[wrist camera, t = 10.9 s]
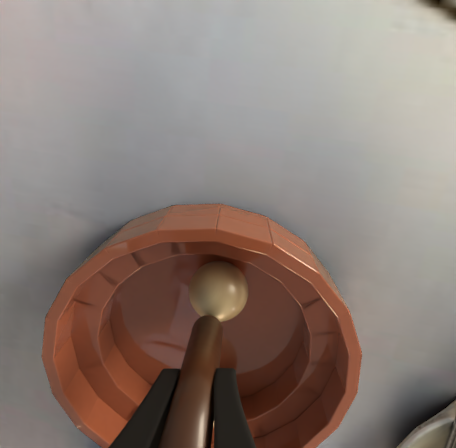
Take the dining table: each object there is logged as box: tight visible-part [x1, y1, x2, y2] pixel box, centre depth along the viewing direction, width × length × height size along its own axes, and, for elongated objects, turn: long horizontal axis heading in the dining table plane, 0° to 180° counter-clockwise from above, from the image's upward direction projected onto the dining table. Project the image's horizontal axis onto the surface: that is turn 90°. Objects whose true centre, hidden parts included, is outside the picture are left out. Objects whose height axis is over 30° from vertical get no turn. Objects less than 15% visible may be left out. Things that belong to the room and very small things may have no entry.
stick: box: [158, 315, 223, 448], centre depth 11 cm, size 1×1×8 cm
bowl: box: [42, 204, 362, 448], centre depth 17 cm, size 15×15×4 cm
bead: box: [189, 261, 248, 322], centre depth 16 cm, size 3×3×3 cm
